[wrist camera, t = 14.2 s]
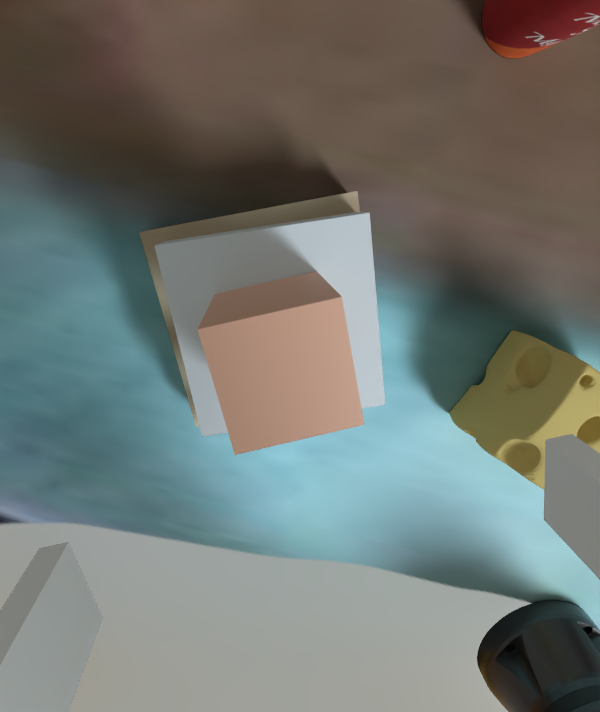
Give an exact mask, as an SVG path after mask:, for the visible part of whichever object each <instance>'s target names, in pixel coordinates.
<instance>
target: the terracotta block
mask: <svg viewBox="0 0 600 712" xmlns="http://www.w3.org/2000/svg"><path fill="white" fill-rule="evenodd" d="M197 330H198V333H199V337H200V340H201V343H202V347H203V350H204V353H205V357H206V360H207V363H208V367H209V370H210V373H211V377H212V380H213V383H214V387H215V390H216V393H217V397H218V400H219V403H220V406H221V410H222V413H223V416H224V420H225V423H226V426H227V430H228V433H229V436H230V440H231V443H232V446H233V450H234V453H235V455H236V454H241V453H245V452H249V451H254V450H258V449H262V448H266V447H271V446H275V445H279V444H283V443H288V442H292V441H296V440H301V439H305V438H309V437H313V436H318V435H322V434H326V433H331V432H335V431H339V430H343V429H348V428H352V427H356V426H360V425H364V420H363V414H362V408H361V403H360V397H359V391H358V385H357V380H356V374H355V368H354V363H353V357H352V351H351V346H350V340H349V334H348V329H347V323H346V317H345V312H344V306H343V300H342V296H341V295H340V294H339V293H338V292H337V291H336V290H335V289H334V288H333V287H332V286H331V285H330V284H329V283H328V282H327V281H326V280H325V279H324V278H323V277H322V276H321V275H320V274H319V273H318V272H317V271H315V272H310V273H306V274H301V275H297V276H292V277H288V278H284V279H279V280H275V281H270V282H266V283H261V284H257V285H252V286H248V287H244V288H239V289H235V290H230V291H226V292H221V293H217V294H214V296H213V298H212V300H211V303H210V305H209V307H208V309H207V311H206V313H205V315H204V317H203V319H202V321H201V323H200V325H199V327H198V329H197Z"/></svg>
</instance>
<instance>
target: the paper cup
mask: <svg viewBox="0 0 600 712" xmlns="http://www.w3.org/2000/svg"><path fill="white" fill-rule="evenodd" d="M598 25H600V0H485V2H484V6H483V11H482V29H483V33H484V37H485V39H486V41H487V43H488V45H489V46H490V48H491V49H492V50H493V51H494V52H495V53H497V54H498V55H500V56H502V57H505V58H510V59H515V58H521V57H524V56H527V55H530V54H533V53H535V52H538V51H540V50H543V49H545V48H547V47H550V46H552V45H554V44H557V43H559V42H561V41H564V40H566V39H568V38H570V37H573V36H575V35H577V34H580V33H582V32H584V31H586V30H589V29H591V28H593V27H596V26H598Z"/></svg>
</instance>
